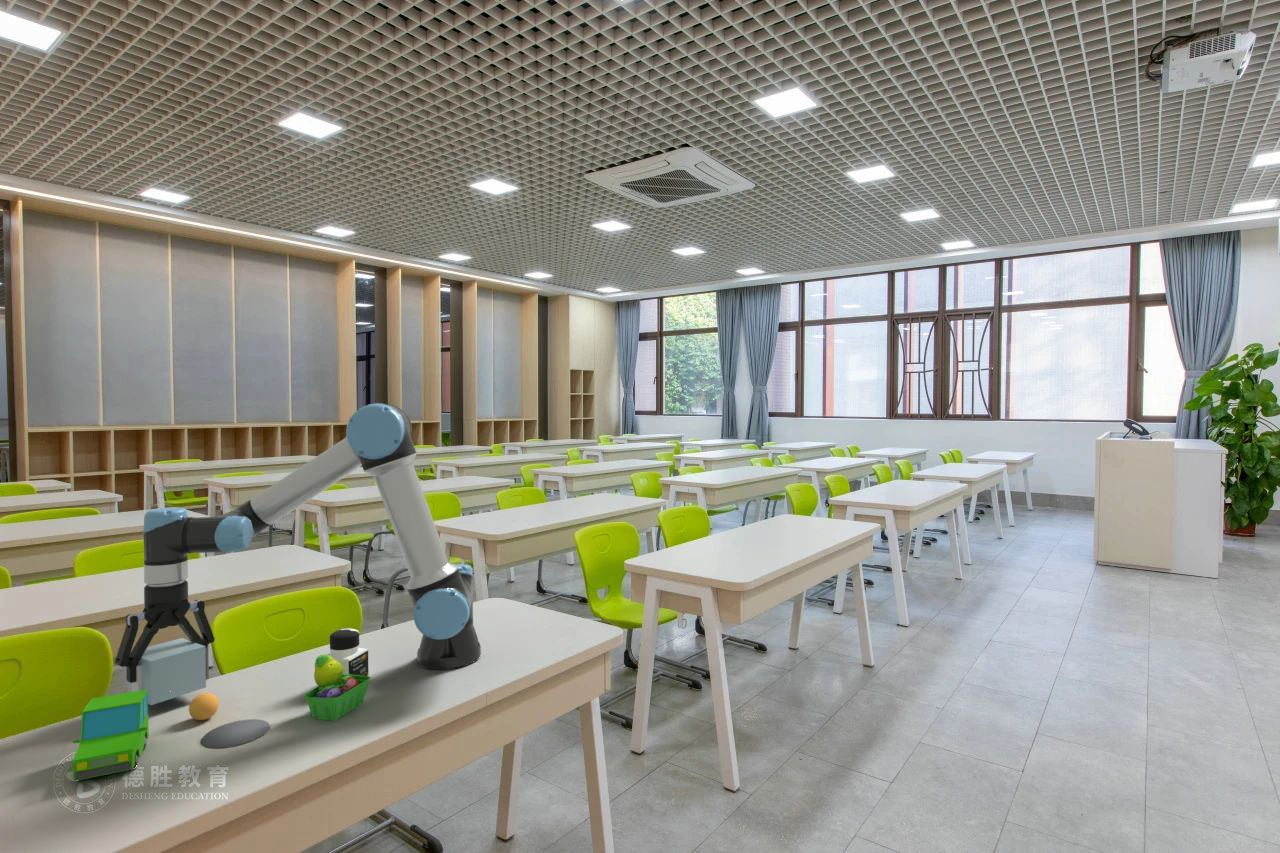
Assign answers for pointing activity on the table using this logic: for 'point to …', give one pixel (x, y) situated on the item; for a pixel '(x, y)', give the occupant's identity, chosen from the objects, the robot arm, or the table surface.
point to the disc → (235, 733)
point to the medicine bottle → (349, 652)
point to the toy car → (111, 734)
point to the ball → (203, 706)
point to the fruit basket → (334, 690)
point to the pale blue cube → (172, 669)
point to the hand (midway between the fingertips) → (167, 687)
